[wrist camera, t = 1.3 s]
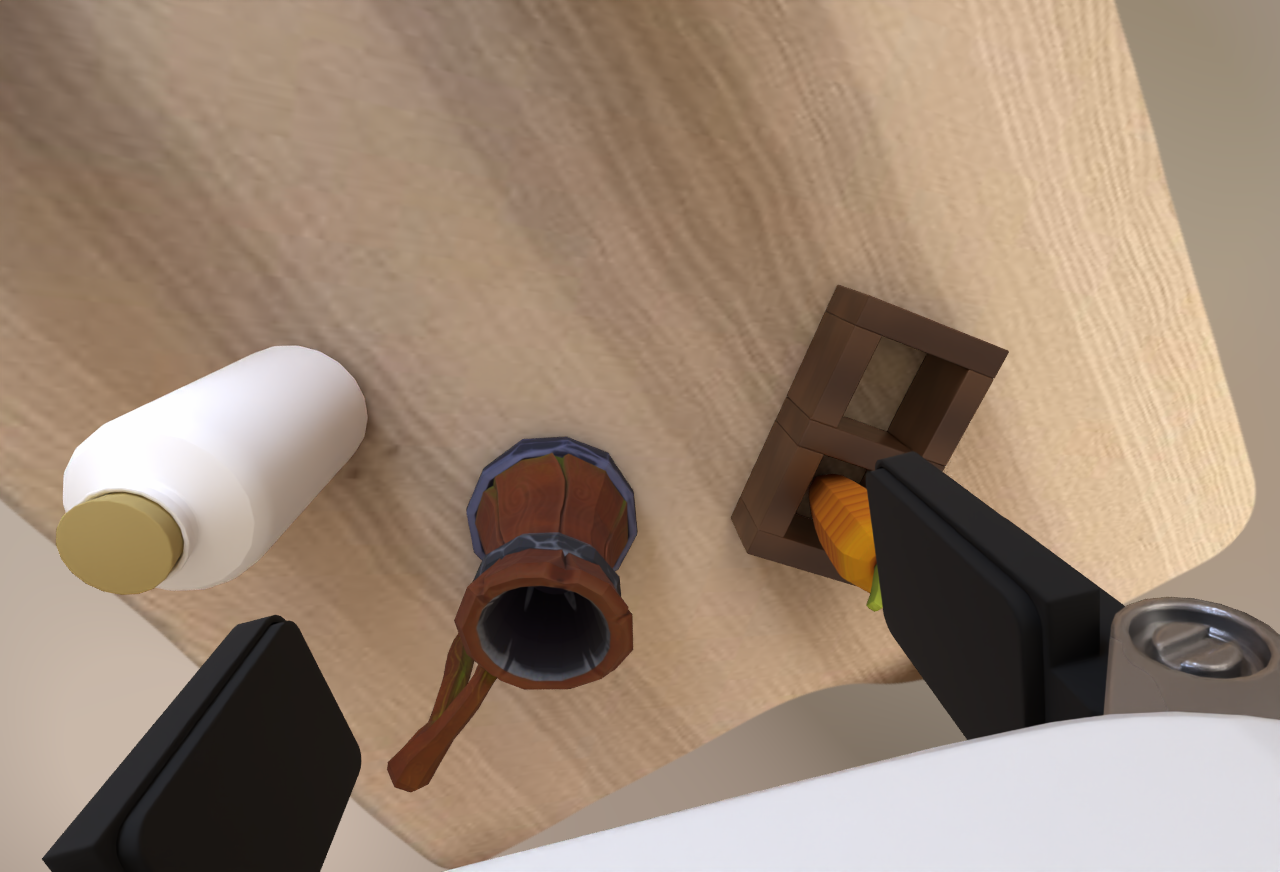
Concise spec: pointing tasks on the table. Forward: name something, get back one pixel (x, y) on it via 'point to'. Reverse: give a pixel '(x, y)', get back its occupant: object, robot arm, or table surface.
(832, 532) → the carrot
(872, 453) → the holder
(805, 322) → the table surface
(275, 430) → the white bottle
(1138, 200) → the table surface
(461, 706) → the mug
